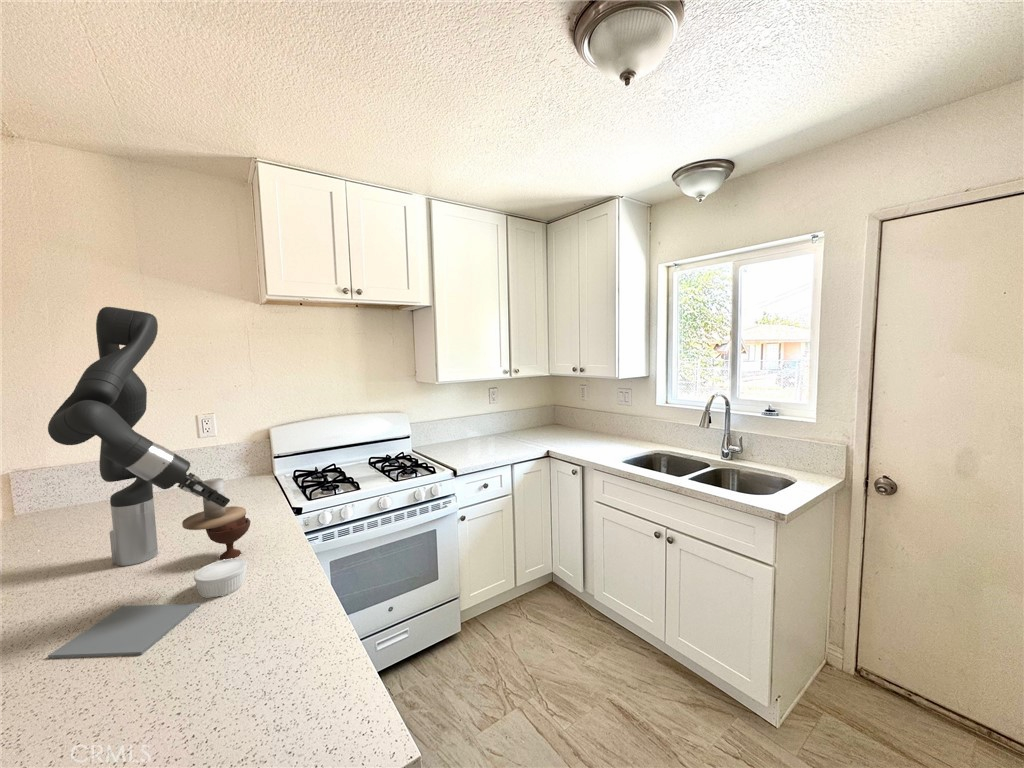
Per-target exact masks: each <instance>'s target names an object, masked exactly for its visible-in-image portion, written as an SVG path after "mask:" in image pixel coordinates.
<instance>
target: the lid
mask: <svg viewBox="0 0 1024 768" xmlns="http://www.w3.org/2000/svg"><path fill="white" fill-rule="evenodd" d="M203 481H204V482H206V483H208V484H209V485H210V488H212V489H213V490H217V492H218V493H219V494H221V495H223V496H225V485H224V484H225V482H224V478H221V477H220V478H219V477H216V478H210V479H206V480H203ZM211 492H212V491H209V492H208V493H207V494H206V496H208V495H209V494H210V493H211ZM225 497H226V496H225ZM202 505H203V511H200V512H199V511H198V512H197V513H194V514H192V515H189V516H188V517H186V518H185V519H183V520H182V522H181V523H182V524H181V525H182V528H183V529H185V530H190V531H201V530H206V529H210V528H216V527H220V526H224V525H227V524H230V523H233V522H235V521H238V520H240V519H241V518H243V517H244V516H245V517H246V514H247V510H246V508H244V507H242V506H237V505H236V506H225V507H222V506H220V505H218V504H216V503H214V502H212V501H208V500H207V499H205V498H204V497H202Z"/></svg>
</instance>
